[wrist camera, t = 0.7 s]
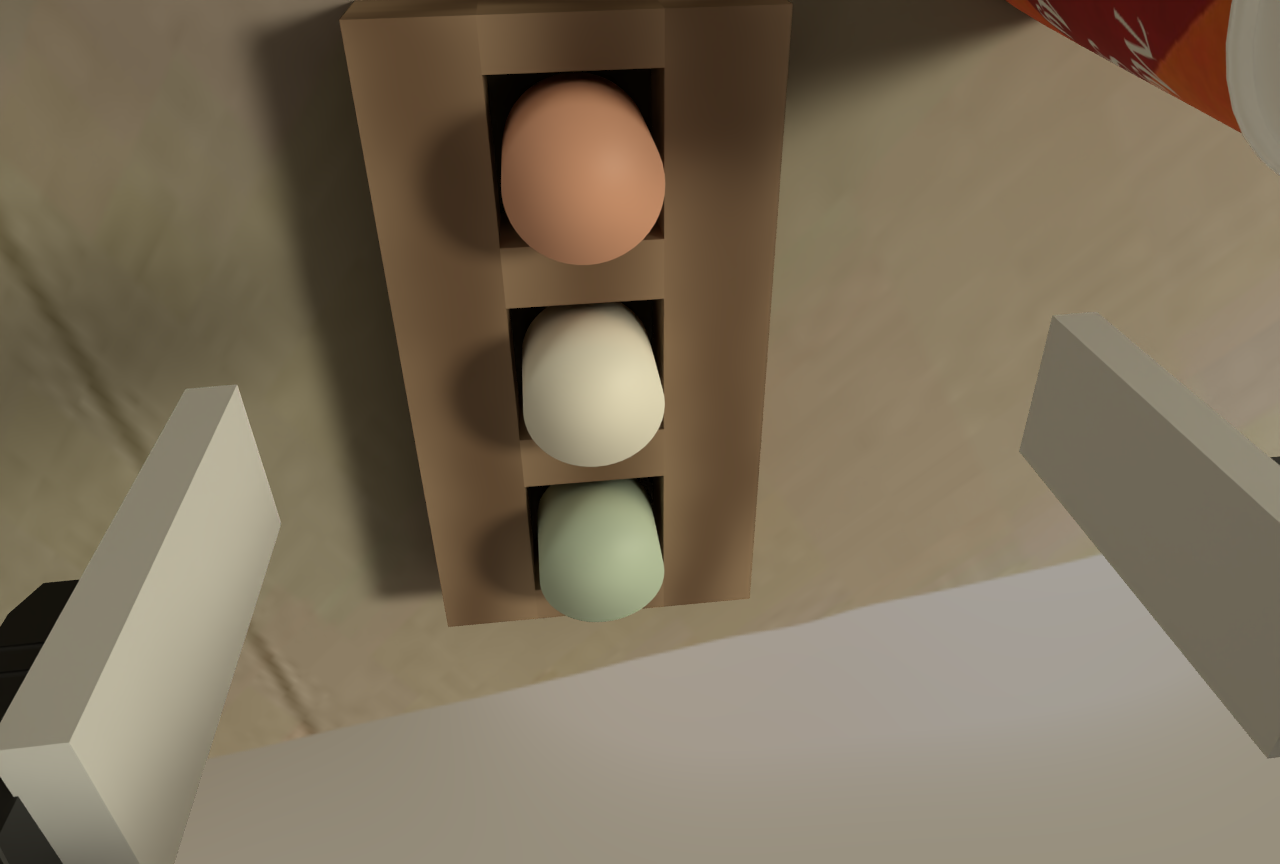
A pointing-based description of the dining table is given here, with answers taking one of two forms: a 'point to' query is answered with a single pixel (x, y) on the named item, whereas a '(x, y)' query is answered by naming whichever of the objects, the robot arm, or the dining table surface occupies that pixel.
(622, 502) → the pale green rounded block
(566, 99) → the brown egg
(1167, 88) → the coffee cup
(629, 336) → the cream rounded piece
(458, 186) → the walnut panel
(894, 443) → the dining table surface
